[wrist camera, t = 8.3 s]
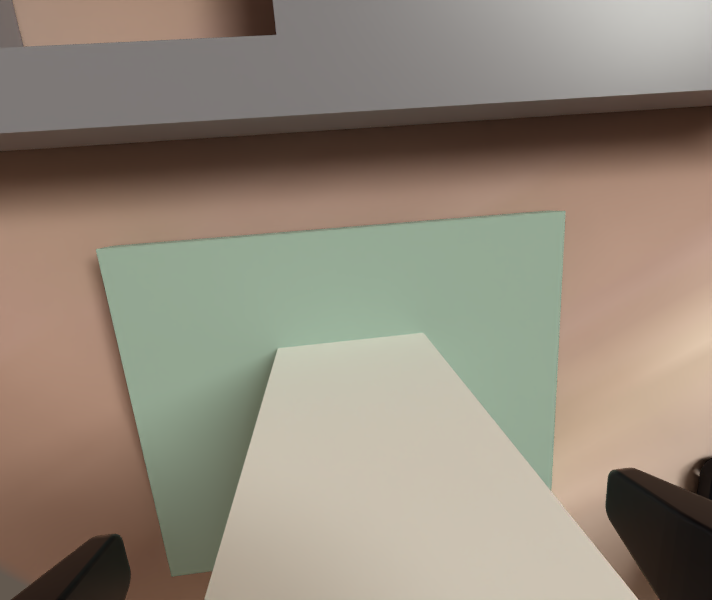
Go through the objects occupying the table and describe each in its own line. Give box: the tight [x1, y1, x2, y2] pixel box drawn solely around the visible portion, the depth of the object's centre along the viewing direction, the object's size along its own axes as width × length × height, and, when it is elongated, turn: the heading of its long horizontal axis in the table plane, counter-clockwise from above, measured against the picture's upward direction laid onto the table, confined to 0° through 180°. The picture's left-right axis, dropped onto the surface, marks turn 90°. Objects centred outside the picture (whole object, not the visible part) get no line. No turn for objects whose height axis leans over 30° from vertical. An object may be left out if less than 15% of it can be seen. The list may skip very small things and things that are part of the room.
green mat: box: [96, 211, 565, 577], centre depth 12 cm, size 12×10×1 cm
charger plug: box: [204, 333, 638, 600], centre depth 7 cm, size 4×4×8 cm
